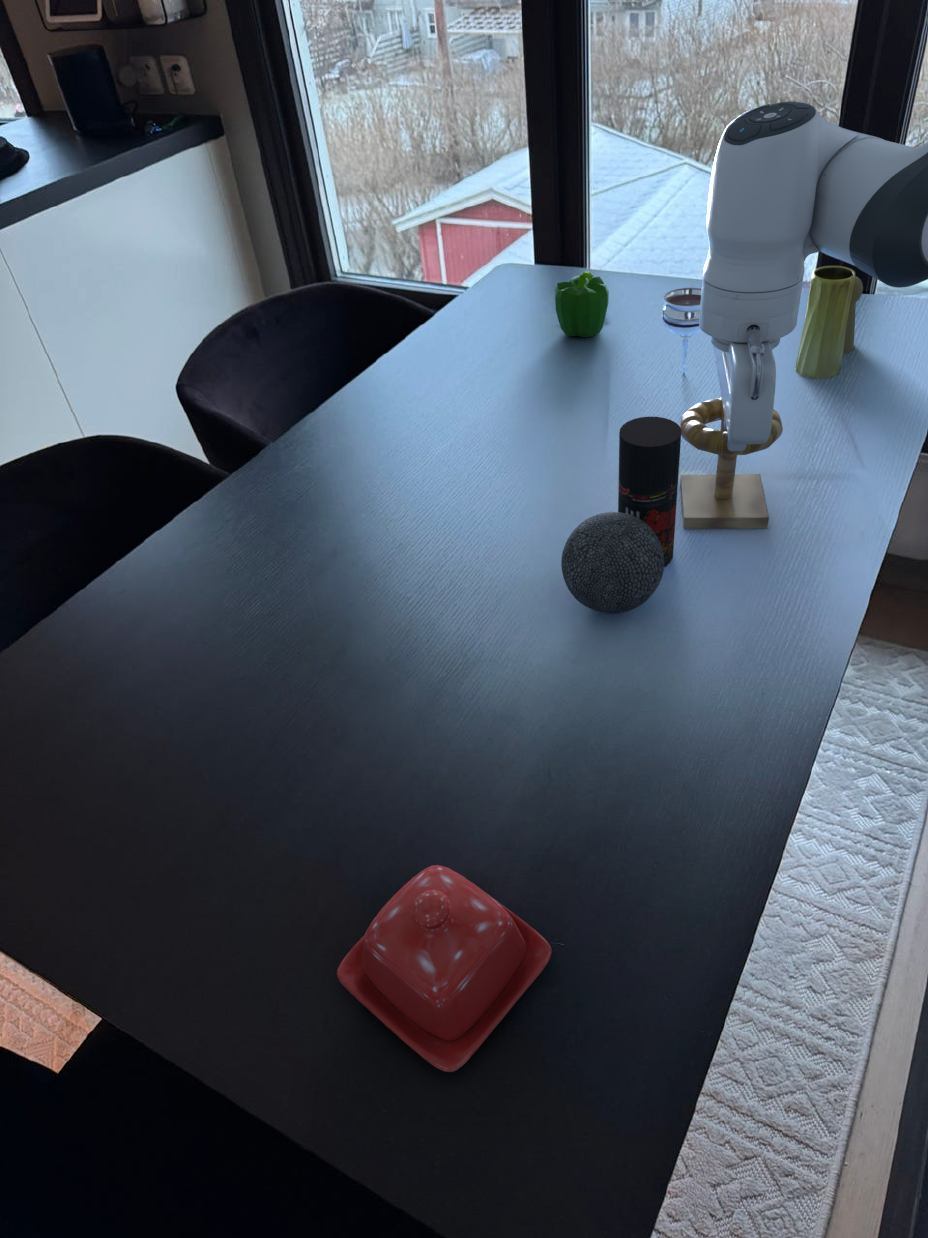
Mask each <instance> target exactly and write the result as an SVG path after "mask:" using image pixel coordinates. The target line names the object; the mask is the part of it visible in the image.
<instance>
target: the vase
mask: <svg viewBox="0 0 928 1238" xmlns="http://www.w3.org/2000/svg"><path fill="white" fill-rule="evenodd" d="M855 276H856V271H855V270H854V269H852V268H849V267H846V266H842V265H825V266H820V267H817V268H815V269H814V270H813V271H812V273H811V276H810V284H809V291H808V297H807V303H806V309H805V316H804V322H803V327H802V332H801V337H800V341H799V346H798V350H797V357H796V360H795V365H794V368H795V372H796V373H798V374H800V376H802V377H806V378H811V379H829V378H833V377H835V376H837V375H839V372H840V371H841V369H842V368H841V367H842V363H843V356H844V354H843V348H844V340H845V333H846V326H847V320H848V314H849V308H850V302H851V296H852V290H853V284H854V279H855Z"/></svg>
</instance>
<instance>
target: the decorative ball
mask: <svg viewBox="0 0 928 1238" xmlns="http://www.w3.org/2000/svg"><path fill="white" fill-rule="evenodd" d="M560 563H561V564H560V565H561V566H560V567H561V573H562V577H563V581H564V582H565V586H566V587H567V589H568V591H569V593H570V594H571V595H572V596H573V598H574V599H575V600H576V601H577V602H579V603H580V604H581V605H582V606H584V607H586V608H588V609H590V610H592V611H595V612H598V613H602V614H622V613H623V614H624V613H627V612H629V611H633V610H635V609H638V608H639V607H640V606H642V605H643V604H644V603H646V602H647V601H648V600H649V599H650V598H651V597H652V596H653V595H654V593H655V592H656V590H657V589H658V587H659V585H660V583H661V581H662V578H663V575H664V570H665V567H664V554H663V549H662V546H661V544H660V541H659V539H658V537H657V536H656V534H655V532H654V531H653V530H652V529H651V527H650V526H649V525H647V524H646V523H645V522H644V521H642V520H640V519H639V518H637V517H635V516H632V515H629V514H626V513H621V512H618V511H608V512H607V511H606V512H602V513H597V514H595V515H592V516H590V517H587V518H586V519H584V520H583V521H582V522H580V523H579V524H578V525H577V526H576V527H575V528H574V529H573V530H572V532H571V533H570V535H569V536H568V538H567V539H566V541H565V543H564V546H563V549H562V552H561V560H560Z"/></svg>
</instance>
